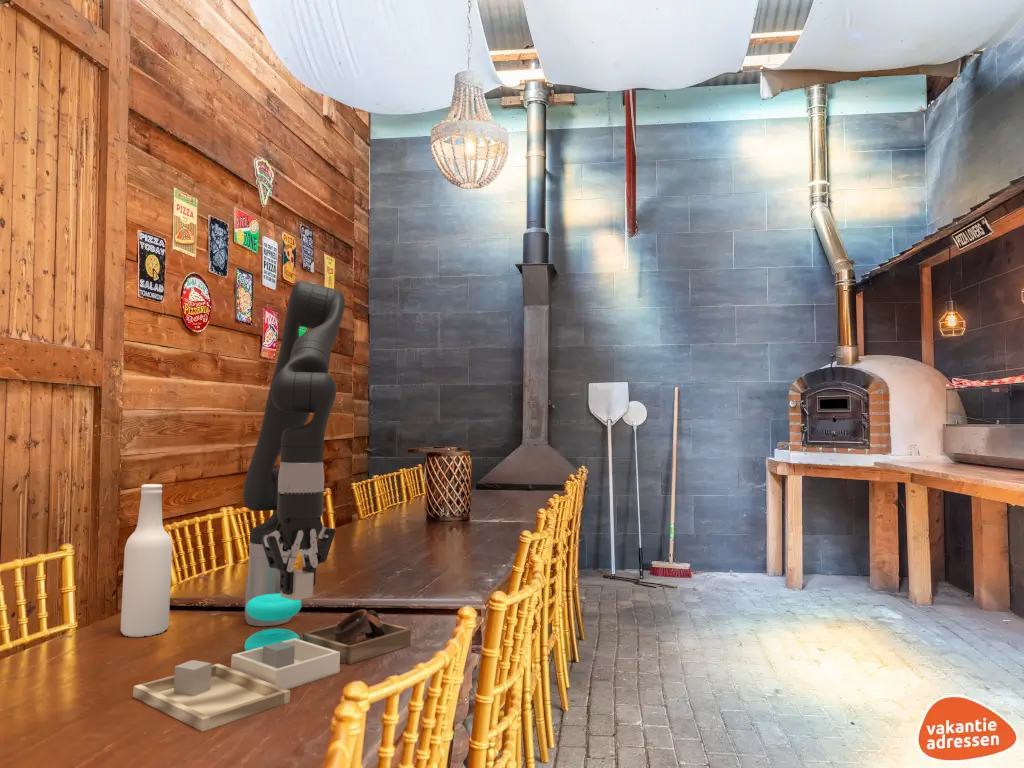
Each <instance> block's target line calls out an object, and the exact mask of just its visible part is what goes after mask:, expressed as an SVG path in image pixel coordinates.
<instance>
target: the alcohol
mask: <svg viewBox="0 0 1024 768" xmlns="http://www.w3.org/2000/svg"><path fill="white" fill-rule="evenodd" d="M140 488H141V491H140V494H141V496H140V503H139V509H138V510H139V511H138V517H137V518H138V519H137V523H136V528H135V530H134V531H133V532H132V533H131V535H130V536H129V537H128V538H127V540H126V543H125V546H124V552H123V553H124V557H123V573H122V575H123V576H122V593H121V595H122V596H121V597H122V598H121V610H120V611H121V613H120V632H121V633H122V635H123V636H125V637H127V636H128V637H127V638H145V637H144V636H147V637H152V635H153V636H157V635H156V634H158V635H160V633H161V634H163V633H165V632H164V631H165V630H168V628H169V624H170V602H171V601H170V600H171V583H172V581H171V580H172V563H173V562H172V561H173V560H172V558H173V542H172V537H171V536H170V534H169V533H168V532H167V531H166V530H165V528H164V525H163V505H162V504H163V503H162V502H163V498H162V493H163V490H162V489H163V485H162V484H160V483H159V484H158V483H148V484H146V483H144V484H142V485H140Z"/></svg>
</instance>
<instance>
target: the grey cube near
mask: <svg viewBox="0 0 1024 768" xmlns="http://www.w3.org/2000/svg"><path fill="white" fill-rule="evenodd" d="M292 572H294V575H293V593H292V594H290V595H286V594H283V593H282V591H281V597H284V598H288V599H291V600H295V601H296V600H305V599H309V598H313V597H314V586H313V579H314V573H312V572H307V571H303V569H296V570H295V569H293V571H292Z"/></svg>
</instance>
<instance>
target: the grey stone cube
mask: <svg viewBox="0 0 1024 768" xmlns="http://www.w3.org/2000/svg"><path fill="white" fill-rule="evenodd" d="M211 665H213V663H211V662H206V661H200V660H195V659H192V660H189V661H186V662H183V663H181V664H178V665H175V666H174V693H178V694H183V695H188V696H196V695H198V694H200V693H203V692H205V691H207V690H210V689H211Z"/></svg>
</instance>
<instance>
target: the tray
mask: <svg viewBox="0 0 1024 768" xmlns="http://www.w3.org/2000/svg"><path fill="white" fill-rule="evenodd" d="M174 675H175V674H174ZM174 675H170V676H166V677H162V678H159V679H156V680H151V681H149V682H143V683H139V684H136V685H133V688H132V689H133V690H132V692H133V693H132V697H133V698H134V699H136V700H137V701H140V702H142V703H144V704H146V705H148V706H150V707H152V708H154V709H156V710H158V711H160V712H162V713H164V714H166V715H168V716H170V717H172V718H174V719H176V720H178V721H179V722H183V723H184V724H186V725H188V726H189V727H192V728H194V729H196V730H198V731H200V732H202V733H203V732H206V731H209V730H212V729H215V728H217V727H221V726H224V725H226V724H229V723H233V722H235V721H238V720H241V719H244V718H247V717H250V716H252V715H253V716H254V715H257V714H259V713H262V712H265V711H268V710H270V709H273V708H276V707H279V706H282V705H285V704H288V703H290V702H291V690H290V689H288V690H287V689H284V688H281V687H279V686H276V685H274V684H271V683H268V682H266V681H263V680H260V679H258V678H255V677H253V676H250V675H247V674H245V673H242V672H239V671H237V670H234V669H232V668H231V667H228V666H226V665H223V664H222V663H215V664H212V665H211V689H210V690H207V691H205V692H203V693H200V694H198V695H196V696H188V695H183V694H178V693H174Z"/></svg>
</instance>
